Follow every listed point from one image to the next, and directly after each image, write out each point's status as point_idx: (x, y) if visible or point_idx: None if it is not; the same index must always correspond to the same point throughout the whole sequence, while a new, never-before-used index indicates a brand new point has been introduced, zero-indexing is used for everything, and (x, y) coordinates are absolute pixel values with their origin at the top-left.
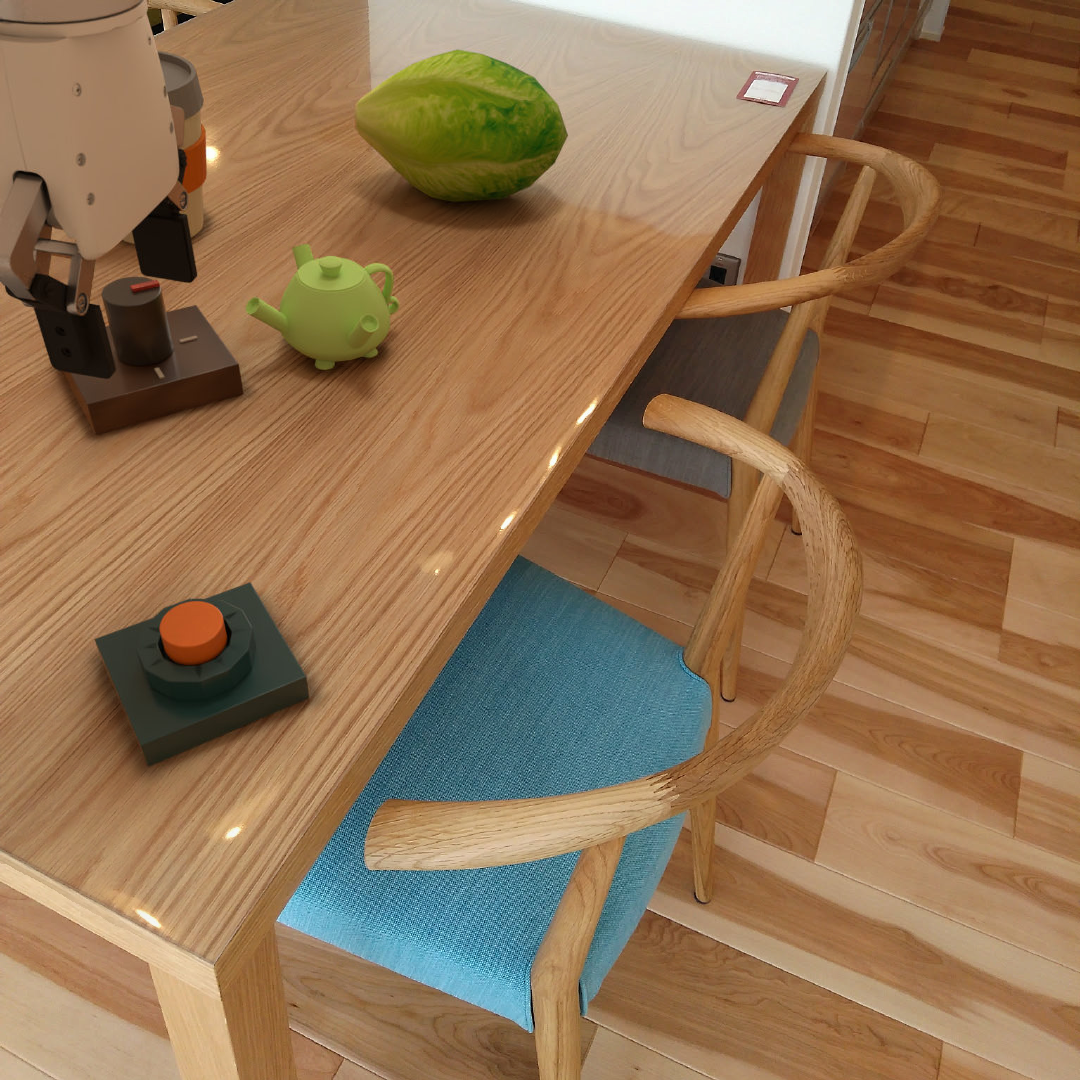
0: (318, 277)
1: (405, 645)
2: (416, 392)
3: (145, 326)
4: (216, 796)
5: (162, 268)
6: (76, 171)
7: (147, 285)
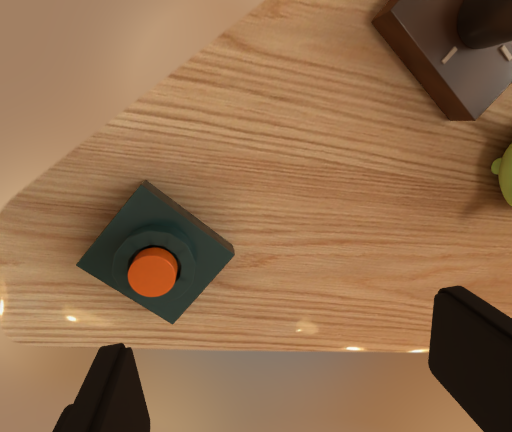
0: None
1: (234, 339)
2: (472, 246)
3: (501, 28)
4: (87, 299)
5: (446, 343)
6: None
7: None
